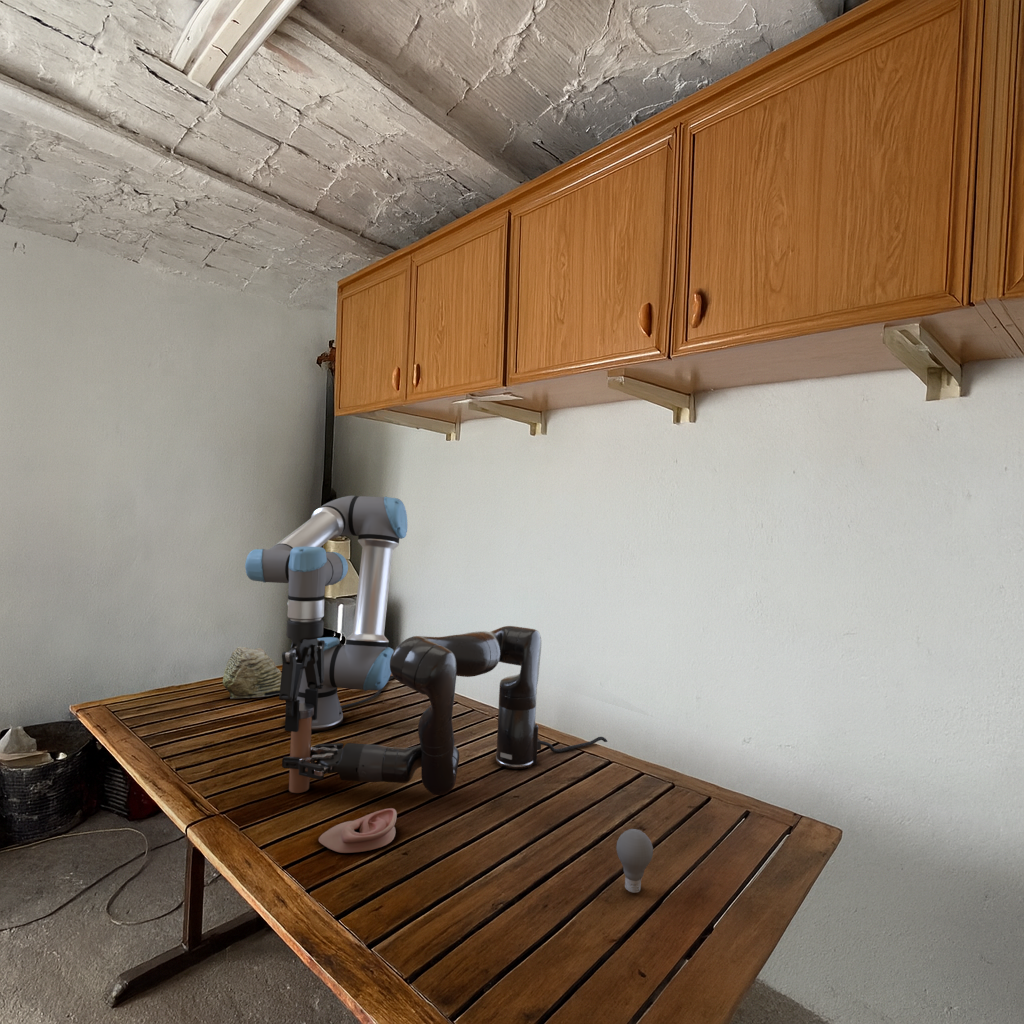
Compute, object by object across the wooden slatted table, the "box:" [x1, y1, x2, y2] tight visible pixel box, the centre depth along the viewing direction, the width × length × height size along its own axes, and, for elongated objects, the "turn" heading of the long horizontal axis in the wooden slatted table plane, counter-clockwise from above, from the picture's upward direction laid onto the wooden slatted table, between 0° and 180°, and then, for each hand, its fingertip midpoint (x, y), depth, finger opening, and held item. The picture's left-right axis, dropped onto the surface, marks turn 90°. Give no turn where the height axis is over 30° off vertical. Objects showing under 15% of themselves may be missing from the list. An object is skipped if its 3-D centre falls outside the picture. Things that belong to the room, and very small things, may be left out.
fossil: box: [222, 646, 282, 699], centre depth 198 cm, size 9×18×15 cm, turn 132°
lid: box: [299, 703, 314, 719], centre depth 137 cm, size 5×5×2 cm
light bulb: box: [615, 828, 654, 894], centre depth 106 cm, size 6×6×10 cm
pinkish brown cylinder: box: [288, 716, 312, 794], centre depth 137 cm, size 4×4×17 cm
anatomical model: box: [318, 807, 398, 854], centre depth 118 cm, size 13×4×12 cm
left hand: (301, 724), depth 137 cm, fingers open, 7 cm apart
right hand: (287, 757), depth 137 cm, fingers closed on pinkish brown cylinder, 4 cm apart
